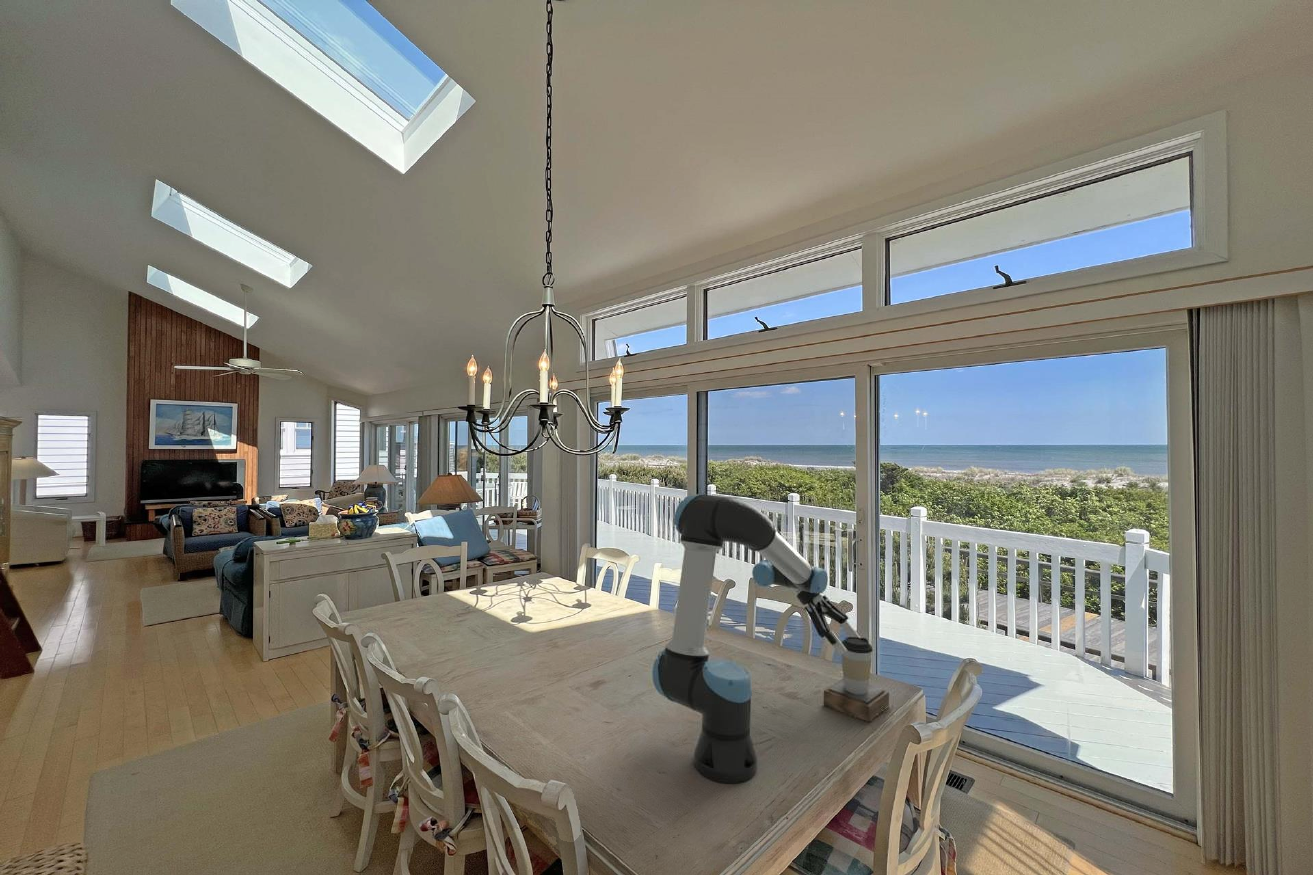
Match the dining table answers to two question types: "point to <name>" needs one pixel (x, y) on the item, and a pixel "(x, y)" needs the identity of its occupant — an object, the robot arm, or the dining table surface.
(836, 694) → the walnut block
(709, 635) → the dining table surface
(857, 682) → the coffee cup
